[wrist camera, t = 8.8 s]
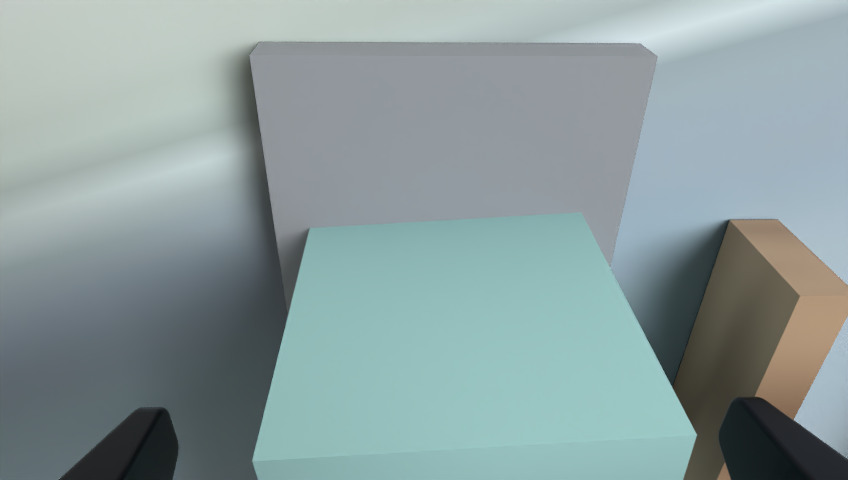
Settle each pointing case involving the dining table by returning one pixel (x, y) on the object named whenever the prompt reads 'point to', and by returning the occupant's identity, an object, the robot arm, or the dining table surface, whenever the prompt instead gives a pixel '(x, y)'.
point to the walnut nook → (756, 332)
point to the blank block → (466, 360)
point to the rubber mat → (446, 133)
